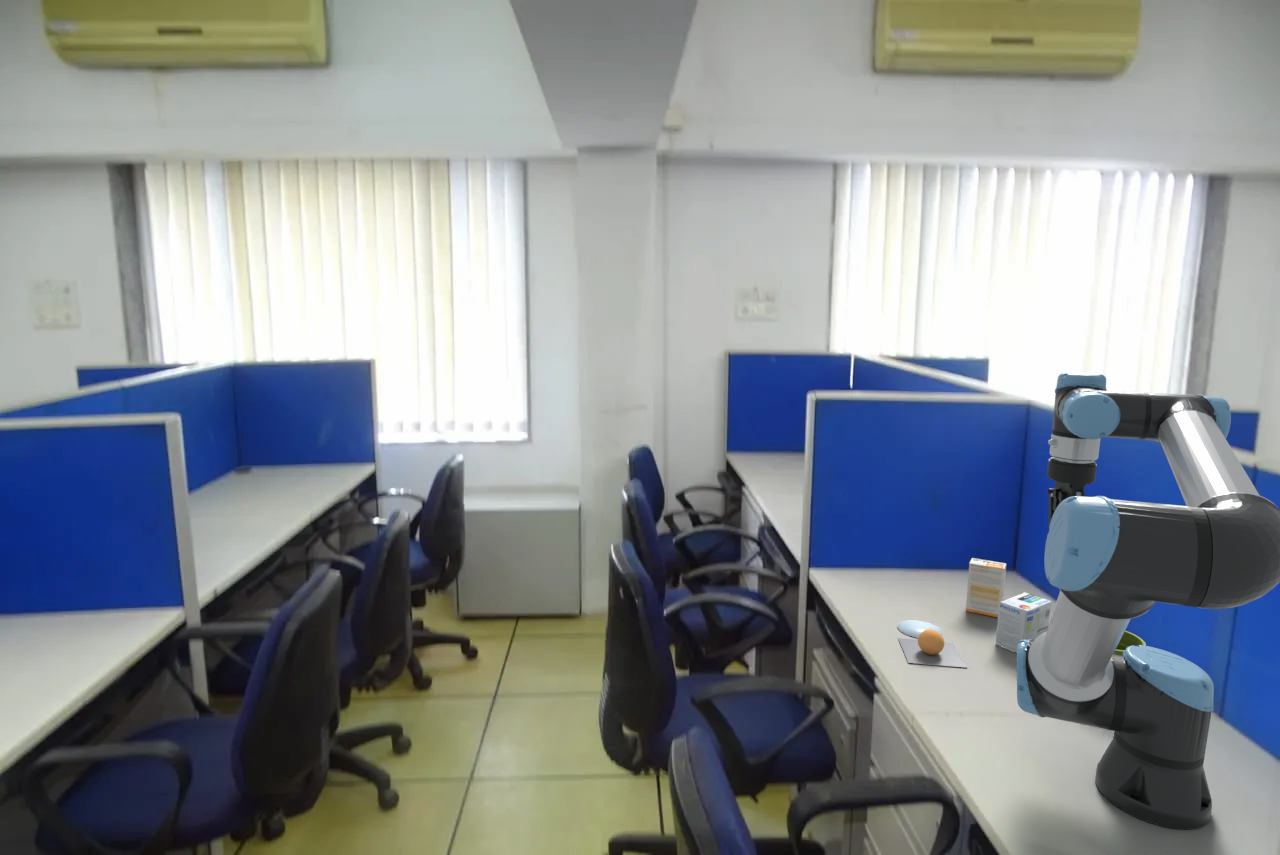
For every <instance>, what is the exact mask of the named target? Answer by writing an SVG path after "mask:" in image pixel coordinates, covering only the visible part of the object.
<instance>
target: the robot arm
mask: <svg viewBox="0 0 1280 855" xmlns="http://www.w3.org/2000/svg"><path fill="white" fill-rule="evenodd" d="M1054 394H1055V395H1054V408H1053V420H1052V428H1051V435H1050V439H1048V441H1047V444H1048V445H1049V446H1050V447H1049V455H1050V456H1051V457H1050V458H1048V461H1047V472H1046V476H1047V478H1048V479H1050V480H1052V481H1055V483H1054V487H1053V488H1051V487H1050V488H1047V499H1048V528H1047V529H1048V533H1047V536H1046V540H1045V545H1044V546H1045V547H1044V556H1043V557H1044V560H1043V561H1044V564H1043V565H1044V572H1045V576H1046V579H1047V581H1048V582H1049V584H1051V585H1052V587H1055V588H1058V589H1059V594H1058V596H1057V599H1056V603H1055V606H1054V609H1053V612H1052V615H1051V616H1050V617H1051V618H1050V620H1049V627H1048V630H1047V631H1046V632H1044V633H1042V634H1041V635H1039V636H1038V637H1037V638H1036V639H1035V640H1032V639H1028V640H1024V639H1023V640H1020V641H1019V642H1018V646H1017V654H1016V699H1017V704H1018V707H1019V708H1020V709H1021V710H1022V711H1023V712H1025V713H1028V714H1031V715H1036V716H1038V717H1039V718H1049V719H1055V720H1060V721H1065V722H1069V723H1075V724H1080V725H1084V726H1088V727H1094V728H1099V729H1104V730H1109V731H1113V732H1114V733H1113V738H1112V740H1111V742H1110V743H1109V745H1108V746H1107V747H1106V750H1105V751H1104V753H1103V754H1102V757H1101V759H1100V760H1098V762H1097V765H1096V767H1095V776H1094V779H1095V780H1094V781H1095V785H1096V787H1097V788H1098V791H1100V793H1101V794H1102V796H1104V797H1105V798H1106V799H1107V800H1108V801H1109V802H1111V803H1112V804H1113V805H1115V806H1116V807H1118V809H1120V810H1122V811H1124V812H1125V813H1127V814H1130V815H1132V816H1133V817H1136V818H1138V819H1141V820H1142V821H1145V822H1148V823H1150V824H1154V825H1158V826H1161V827H1166V828H1169V829H1170V828H1171V829H1178V830H1193V829H1199V828H1202V827H1204V826H1206V825H1207V824H1208V823H1209V822H1210V819H1211V816H1212V810H1213V800H1212V797H1211V793H1210V792H1211V791H1210V789H1209V784H1208V780H1207V776H1206V772H1205V769H1204V762H1205V756H1206V749H1207V743H1208V735H1209V730H1210V723H1211V716H1212V712H1213V711H1214V710H1215V708H1214V707H1215V705H1214V693H1215V688H1214V687H1215V686H1214V682H1213V680H1212V679H1211V677H1210V675H1209V674H1208V673H1207V672H1206V671H1205V670H1203V668H1201V667H1200V666H1198V665H1197V664H1196V663H1193V662H1192V661H1190V660H1188V659H1186V658H1185V657H1182V656H1181V655H1178V654H1176V653H1174V652H1170V651H1167V650H1164V649H1161V648H1158V647H1153V646H1148V645H1146V646H1142V645H1138V646H1134V645H1133V646H1129V647H1127V648H1126V649H1125V651H1124V652H1123V656H1119V655H1113V653H1114V651H1115V649H1116V647H1117V645H1118V643H1119V641H1120V639H1121V637H1122V635H1123V633H1124V631H1126V629H1127V628H1128V626H1129V623H1130V621H1131V619H1136V618H1138V617H1141V616H1143V615H1144V614H1146V613H1148V612H1149V611H1150V610H1151V609H1152V608H1153V607H1154V606H1155V605H1156V603H1161V604H1168V605H1175V606H1185V607H1191V608H1192V607H1193V608H1196V609H1197V608H1198V609H1208V610H1222V609H1223V610H1225V609H1230V608H1231V609H1232V608H1236V607H1237V608H1238V607H1240V606H1243V605H1244V606H1245V605H1246V604H1249V603H1252V602H1254V601H1256V600H1258V599H1260V598H1262V597H1263V596H1265V595H1266V594H1268V593H1269V592H1270V591H1272V590H1273V589H1274V588H1275V587H1277V585H1279V584H1280V508H1279V507H1278V506H1277V504H1275V503H1274V502H1273V501H1271V500H1270V499H1268V498H1266V497H1264V496H1261V495H1260V494H1259V492H1258V491H1257V488H1256V486H1255V485H1254V483H1253V482H1252V480H1251V479H1250V477H1249V475H1248V474H1247V472H1246V471H1245V469H1244V467H1243V466H1242V464H1241V462H1240V461H1239V459H1238V457H1237V455H1236V454H1235V452H1234V450H1233V448H1232V447H1231V445H1230V444H1229V442H1228V440H1227V437H1228V435H1229V432H1230V428H1231V423H1232V422H1231V421H1232V414H1231V411H1230V407H1231V406H1230V404H1229V402H1228V401H1227V400H1226V398H1225V399H1224V398H1223V397H1221V396H1211V395H1204V394H1202V393H1201V394H1198V393H1196V394H1195V393H1194V394H1186V393H1185V394H1182V393H1153V392H1136V391H1117V390H1107V377H1106V376H1105V375H1104V374H1102V373H1097V372H1085V371H1082V372H1081V371H1065V372H1061V373H1060V374H1059V375H1058V376H1057V380H1056V387H1055V389H1054ZM1103 438H1116V439H1129V440H1145V441H1155V442H1157V441H1158V442H1159V443H1160V445H1161V447H1162V449H1163V452H1164V455H1165V457H1166V459H1167V461H1168V464H1169V466H1170V469H1171V471H1172V474H1173V476H1174V478H1175V481H1176V484H1177V486H1178V489H1179V490H1180V493H1181V496H1182V499H1183V501H1184V503H1185V505H1179V504H1178V505H1177V504H1167V503H1158V502H1157V503H1156V502H1147V501H1146V502H1145V501H1135V500H1134V501H1133V500H1124V499H1113V498H1109V497H1107V496H1104V495H1096V496H1086V494H1085V486H1086V485H1087V486H1088V485H1091V484H1094V482H1096V479H1097V478H1096V477H1097V476H1096V475H1097V469H1098V468H1097V467H1098V464H1097V463H1096V461H1097V460H1098V459H1099V456H1100V454H1099V453H1100V447H1101V439H1103Z"/></svg>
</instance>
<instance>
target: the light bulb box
mask: <svg viewBox="0 0 1280 855" xmlns="http://www.w3.org/2000/svg"><path fill="white" fill-rule="evenodd" d="M1051 608H1052V601H1051V600H1049V599H1046V598H1043V597H1041V596H1037V595H1034V594H1031V593H1028V592H1025V591H1024V592H1021V593H1019V594H1017V595H1014V596H1012V597H1009V598H1006V599H1004V600H1003V601H1000V602H999V611H998V617H997V621H996V622H997V624H996V632H995V633H996V635H995V636H996V637H995V643H996V644H998V645H1000V646H1003V647H1005V648H1007V649H1010V650H1012V651H1014V652H1016V653H1017V646H1018V642H1019V641H1020V640H1023V639H1024V640H1028V639H1032V640H1035V639H1036V638H1037V637H1038V636H1039V635H1041V634H1042V633H1044V632H1046V631H1047V630H1048V627H1049V624H1050V620H1051V618H1050V617H1051ZM996 644H995V645H996ZM1000 646H999V647H1000ZM1007 649H1006V650H1007ZM1012 651H1011V652H1012ZM1014 652H1013V653H1014ZM1016 653H1015V654H1016Z"/></svg>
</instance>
